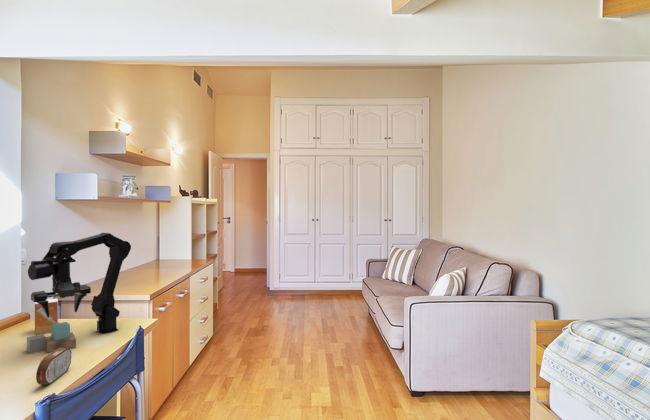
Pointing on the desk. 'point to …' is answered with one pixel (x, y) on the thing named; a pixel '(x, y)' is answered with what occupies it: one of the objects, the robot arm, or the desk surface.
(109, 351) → the desk surface
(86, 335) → the desk surface
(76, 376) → the desk surface
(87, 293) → the robot arm
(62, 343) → the walnut block
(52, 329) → the teal cube
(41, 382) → the tin
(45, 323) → the small box
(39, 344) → the grey cube
